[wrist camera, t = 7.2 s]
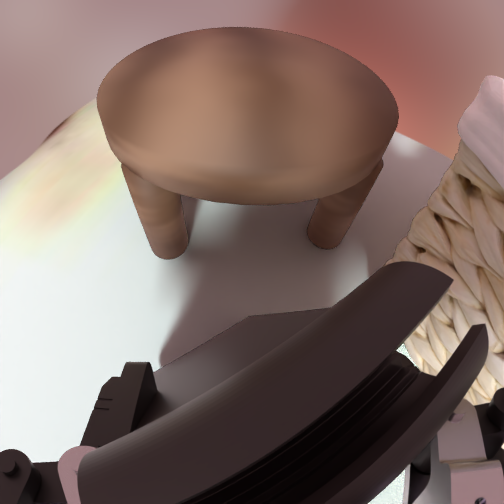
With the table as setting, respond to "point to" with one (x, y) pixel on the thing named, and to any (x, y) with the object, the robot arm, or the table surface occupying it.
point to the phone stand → (293, 405)
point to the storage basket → (465, 245)
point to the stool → (245, 128)
